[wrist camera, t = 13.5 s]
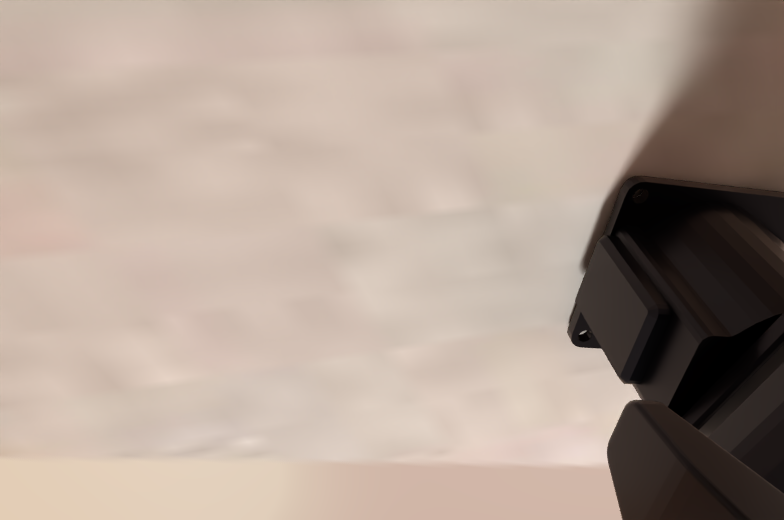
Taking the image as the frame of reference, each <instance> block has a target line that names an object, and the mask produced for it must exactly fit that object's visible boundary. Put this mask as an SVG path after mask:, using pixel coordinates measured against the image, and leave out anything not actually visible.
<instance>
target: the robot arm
mask: <svg viewBox="0 0 784 520" xmlns="http://www.w3.org/2000/svg"><path fill="white" fill-rule="evenodd" d="M639 189H643V192H642V193H641V195H639V196H637V197H633V195H634V193H635V192H636V191H637V190H639ZM575 302H576V304H577V306H576V308H575V311H574V313H573V316H572V319H571V321H570V324H569V327H568V331H567V333H568V335H569V338H570V339H571V341H572V343H573V344H574V345H575V346H578V347H585V348H601V349H603V351H604V353H605V355H606V356H607V358H608V360H609V362H610V363H611V365H612V367H613V369H614V370H615V372H616V374H617V376H618V377H619V378H620V380H621V381H622V382H623V383H624V384H633V386H634V388H635V389H636V391H637V393H638V394H639V396H640V398H641V399H642V400H633V401H630V402H629V403H628V404H626V406H625V408H624V410H623V412H622V414H621V416H620V418H619V420H618V423H617V425H616V427H615V429H614V431H613V433H612V436H611V438H610V440H609V443H608V448H607V458H608V464H609V468H610V471H611V475H612V480H613V483H614V487H615V492H616V496H617V499H618V503H619V507H620V511H621V515H622V519H623V520H784V193H783V192H774V191H766V190H757V189H749V188H740V187H731V186H723V185H714V184H706V183H697V182H688V181H680V180H671V179H663V178H654V177H645V176H635V177H632V178H630V179H628V180H627V181H626V182H625V183H624V184H623V186H622V188H621V190H620V192H619V195H618V197H617V200H616V203H615V205H614V208H613V211H612V213H611V216H610V219H609V221H608V224H607V226H606V229H605V232H604V234H603V236H602V237H601V238H600V239H599V240H598V241H597V244H596V246H595V249H594V252H593V254H592V257H591V259H590V262H589V265H588V267H587V270H586V273H585V275H584V278H583V281H582V283H581V286H580V289H579V291H578V294H577V297H576V300H575ZM585 330H587V331H586V332H585V333H584V334H581V335H579V334H580V333H581V332H582V331H585Z"/></svg>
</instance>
